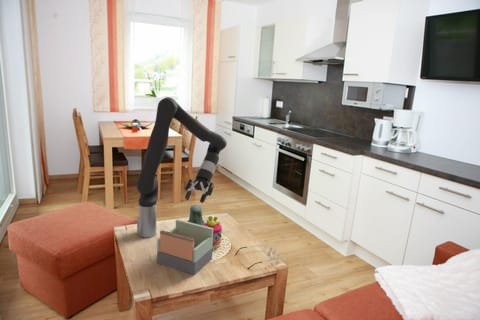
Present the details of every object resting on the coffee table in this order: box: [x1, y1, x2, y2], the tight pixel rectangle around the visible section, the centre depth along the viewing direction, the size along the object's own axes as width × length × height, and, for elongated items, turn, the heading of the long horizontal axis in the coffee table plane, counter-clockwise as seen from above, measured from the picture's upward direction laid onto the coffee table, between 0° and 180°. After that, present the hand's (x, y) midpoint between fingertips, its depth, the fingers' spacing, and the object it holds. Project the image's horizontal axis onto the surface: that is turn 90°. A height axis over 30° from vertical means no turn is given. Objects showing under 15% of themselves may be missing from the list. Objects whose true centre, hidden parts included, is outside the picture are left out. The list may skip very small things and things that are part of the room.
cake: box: [202, 215, 223, 251], centre depth 176 cm, size 10×11×15 cm
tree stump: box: [186, 204, 206, 225], centre depth 192 cm, size 18×20×18 cm
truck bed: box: [156, 218, 213, 276], centre depth 159 cm, size 16×20×16 cm
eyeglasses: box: [234, 242, 281, 270], centre depth 167 cm, size 16×19×5 cm
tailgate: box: [159, 229, 194, 261], centre depth 151 cm, size 1×17×10 cm, turn 66°
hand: (193, 200), depth 163 cm, fingers open, 8 cm apart
